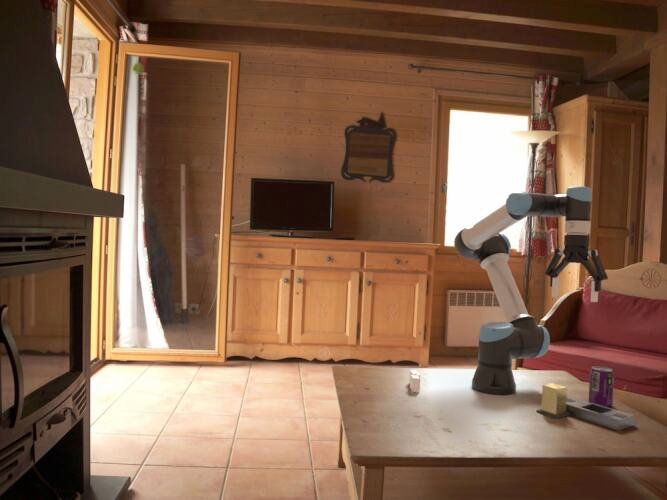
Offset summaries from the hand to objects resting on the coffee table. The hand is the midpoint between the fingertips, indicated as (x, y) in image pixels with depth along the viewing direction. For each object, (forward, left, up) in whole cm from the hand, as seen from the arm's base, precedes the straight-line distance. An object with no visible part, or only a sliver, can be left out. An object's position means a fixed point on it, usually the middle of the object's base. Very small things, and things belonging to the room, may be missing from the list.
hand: (573, 299), depth 171 cm
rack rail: (+10, -5, -35) cm, 36 cm away
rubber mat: (+3, -13, -35) cm, 37 cm away
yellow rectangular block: (+3, -13, -34) cm, 37 cm away
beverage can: (+5, +10, -35) cm, 37 cm away
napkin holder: (-38, -34, -35) cm, 62 cm away
